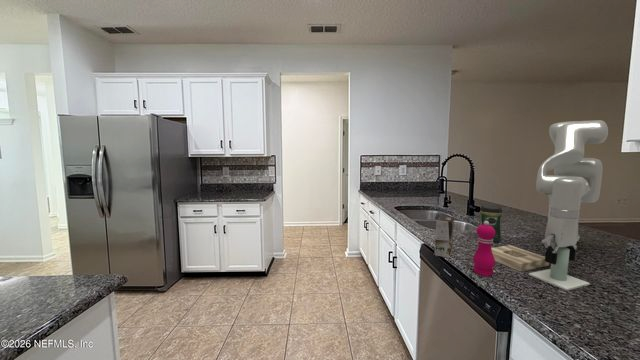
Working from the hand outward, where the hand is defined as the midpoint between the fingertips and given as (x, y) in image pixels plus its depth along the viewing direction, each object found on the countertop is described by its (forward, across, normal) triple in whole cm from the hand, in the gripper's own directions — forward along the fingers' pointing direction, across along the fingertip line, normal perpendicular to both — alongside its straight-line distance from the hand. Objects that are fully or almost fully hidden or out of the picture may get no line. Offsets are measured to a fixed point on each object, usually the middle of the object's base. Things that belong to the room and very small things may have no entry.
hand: (559, 261), depth 95 cm
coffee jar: (+7, -16, -40) cm, 44 cm away
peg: (+6, 0, 0) cm, 6 cm away
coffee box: (+7, +20, -33) cm, 39 cm away
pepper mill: (+7, +20, -13) cm, 25 cm away
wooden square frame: (+7, -2, -17) cm, 18 cm away
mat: (+7, 0, 0) cm, 7 cm away
